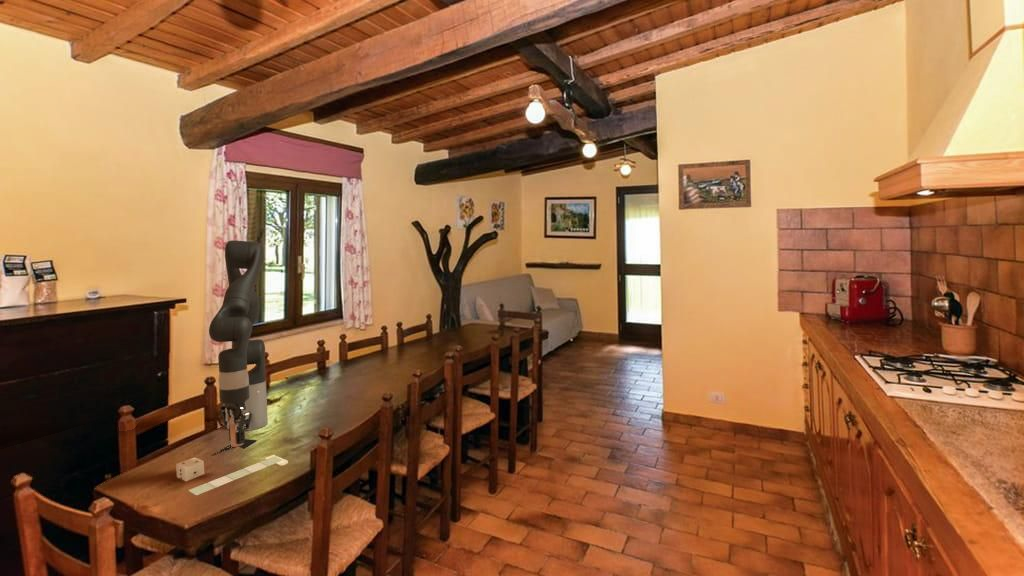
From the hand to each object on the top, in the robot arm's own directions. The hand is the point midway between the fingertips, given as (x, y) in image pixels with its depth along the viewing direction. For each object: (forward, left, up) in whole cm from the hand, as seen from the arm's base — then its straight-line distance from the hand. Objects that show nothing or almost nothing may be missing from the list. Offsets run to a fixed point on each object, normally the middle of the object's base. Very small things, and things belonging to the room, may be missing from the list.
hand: (237, 441), depth 136 cm
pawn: (0, 0, -1) cm, 1 cm away
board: (0, 0, -11) cm, 11 cm away
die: (-11, -8, -11) cm, 18 cm away
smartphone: (-21, +9, -12) cm, 26 cm away
